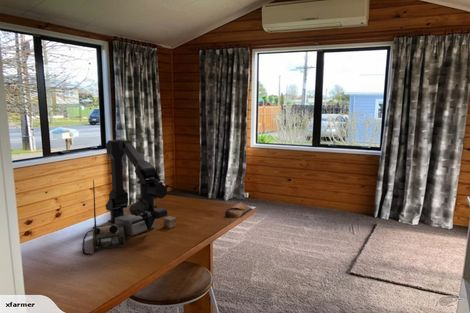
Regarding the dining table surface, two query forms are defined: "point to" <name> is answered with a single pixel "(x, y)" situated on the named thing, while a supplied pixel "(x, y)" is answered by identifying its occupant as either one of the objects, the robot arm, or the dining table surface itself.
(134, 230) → the tray
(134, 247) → the dining table surface
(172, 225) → the walnut block
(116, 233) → the radio
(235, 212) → the sunglasses case
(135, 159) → the robot arm
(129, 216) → the grey drawer cabinet
